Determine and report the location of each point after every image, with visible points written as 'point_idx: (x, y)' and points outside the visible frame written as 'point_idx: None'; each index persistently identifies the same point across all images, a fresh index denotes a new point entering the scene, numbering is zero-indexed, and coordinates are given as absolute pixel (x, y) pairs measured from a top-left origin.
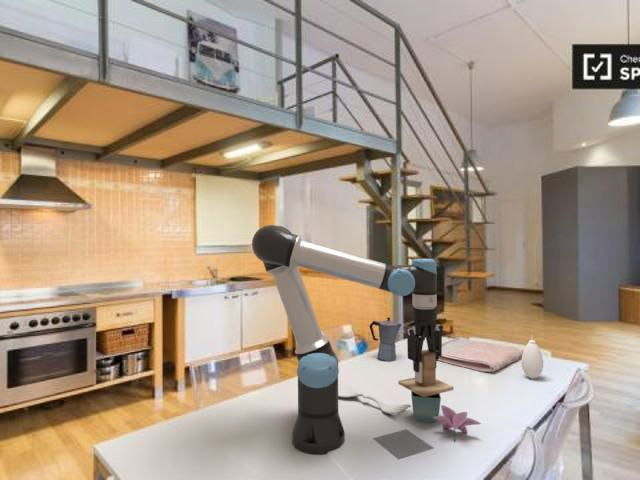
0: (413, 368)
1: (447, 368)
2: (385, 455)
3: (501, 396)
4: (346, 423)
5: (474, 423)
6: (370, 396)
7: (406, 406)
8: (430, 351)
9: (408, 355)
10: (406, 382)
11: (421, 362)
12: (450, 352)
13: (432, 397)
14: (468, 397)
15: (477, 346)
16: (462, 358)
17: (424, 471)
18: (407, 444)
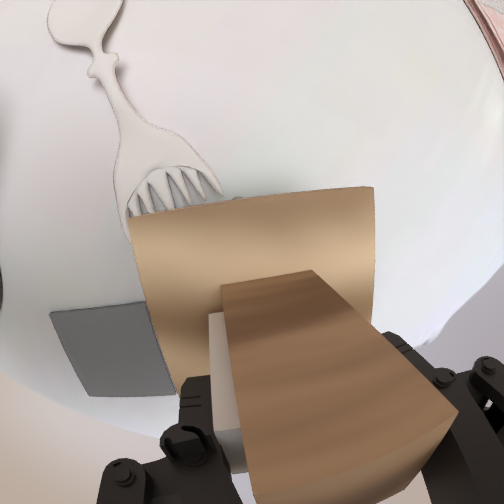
0: (180, 396)
1: (466, 25)
2: (69, 371)
3: (487, 204)
4: (12, 205)
5: None
6: (104, 81)
7: (209, 182)
8: (437, 448)
9: (106, 500)
10: (165, 265)
11: (245, 469)
12: (490, 9)
13: None
14: (445, 170)
15: None
16: (502, 42)
17: (128, 425)
18: (120, 366)
